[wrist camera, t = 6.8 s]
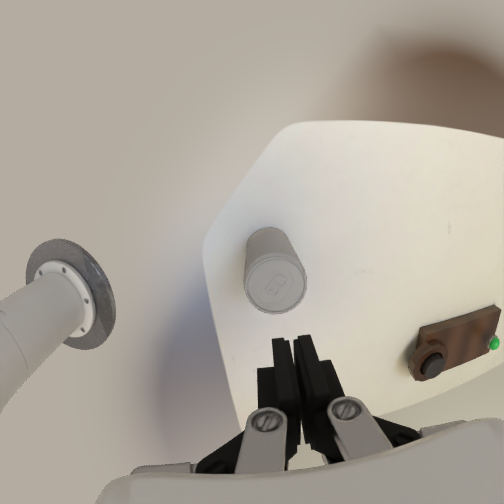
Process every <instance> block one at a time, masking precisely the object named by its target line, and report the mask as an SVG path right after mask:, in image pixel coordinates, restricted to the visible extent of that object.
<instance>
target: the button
mask: <svg viewBox="0 0 504 504" xmlns="http://www.w3.org/2000/svg"><path fill="white" fill-rule="evenodd" d="M444 367H445V360H444V359H443V358H442V357H441V356H440V355H439V354H438V353H433V354H431V355H430V356H428V357H427V358H426V359H425V360H424V362H423V363H422V365H421V371H422V372H423V373H424V375H425V376H426V377H427V378H428V379H432V378H434V377H436V376H438V375H439V374H440V373H441V372H442V370H443V369H444Z"/></svg>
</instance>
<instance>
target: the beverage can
mask: <svg viewBox="0 0 504 504" xmlns="http://www.w3.org/2000/svg"><path fill="white" fill-rule="evenodd" d="M306 288H307V277H306V273H305V270H304V268H303V266H302V264H301V262H300V260H299V258H298V256H297V254H296V253H295V251H294V249H293V247H292V245H291V243H290V241H289V240H288V238H287V236H286V235H285V234H284V233H283V232H282V231H281V230H279V229H277V228H272V227H270V228H264V229H260V230H259V231H257V232H255V233H254V234H253V235H252V236H251V237H250V239H249V241H248V245H247V253H246V262H245V271H244V289H245V292H246V295H247V298H248V299H249V301H250V302H251V304H252V305H253V306H254V307H255V308H257V309H258V310H260V311H262V312H264V313H269V314H282V313H285V312H288V311H290V310H292V309H294V308H295V307H296V306H297V305H298V304H299V303H300V302H301V301H302V299H303V297H304V295H305V292H306Z"/></svg>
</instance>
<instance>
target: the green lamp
mask: <svg viewBox="0 0 504 504" xmlns="http://www.w3.org/2000/svg"><path fill="white" fill-rule="evenodd" d="M499 343H500V342H499V339H498V337H497V336H496V335H495V334H494V335H492V336H491V337H490V338H489V340H488V341H487V345H486V346H487V348H488V349H491V350H495V349H497V348H498V346H499Z"/></svg>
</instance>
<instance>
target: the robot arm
mask: <svg viewBox="0 0 504 504" xmlns="http://www.w3.org/2000/svg"><path fill="white" fill-rule="evenodd" d="M95 316H96V309H95V302H94V298H93V295H92V293H91V290H90V288H89V286H88V284H87V283H86V281H85V280H84V278H83V277H82V276H81V274H80V273H79V272H78V271H77V270H76V269H75V268H73V267H72V266H71V265H69V264H67V263H65V262H63V261H59V260H51V261H48V262H46V263H44V264H42V265H41V266H40V267H39V268H38V270H37V272H36V274H35V277H34V281H33V282H31V283H29V284H28V285H26V286H24V287H23V288H21V289H19V290H18V291H16V292H14V293H13V294H11V295H9V296H8V297H6V298H5V299H3V300H2V301H0V413H1V411H2V410H3V408H4V407H5V405H6V404H7V402H8V401H9V400H10V398H11V397H12V396H13V395H14V394H15V392H16V391H17V390H18V389H19V388H20V387H21V386H22V384H23V383H24V382H25V381H26V380H27V379H28V378H29V377H30V376H31V375H32V374H33V372H35V370H36V369H37V368H38V367H39V366H40V365H41V364H42V363H43V362H44V361H45V360H46V359H47V358H48V357H49V356H50V355H51V354H52V353H53V352H54V351H55V350H56V349H57V348H58V347H59V346H60V345H61V343H63V342H64V341H65V340H66V339H67V338H68V337H81V336H83V335H85V334H86V333H87V332H88V331H89V330H90V329H91V328H92V326H93V324H94V321H95ZM293 343H294V362H293V357H292V353H291V348H290V343H289V340H286V341H284V338H275V339H272V348H273V360H274V367H266V368H257V384H258V409H257V410H256V411H254V412H252V413H251V414H250V415H249V417H248V419H247V423H246V427H245V430H244V431H243V432H241V433H240V434H239V435H237V436H236V437H235V438H233V439H232V440H230V441H229V442H227V443H226V444H225V445H223V446H222V447H220V448H219V449H217V450H216V451H214V452H213V453H211V454H210V455H208V456H207V457H205V458H204V459H202V460H201V461H200V462H199V463H197V464H190V462H186V463H177V464H165V465H151V466H150V465H149V466H141V467H138V468H136V469H134V470H133V471H132V472H131V474H130V475H127V476H123V477H120V478H117V479H115V480H113V481H111V482H110V483H109V484H107V485H106V487H105V488H104V489H103V490H102V492H101V494H100V495H99V497H98V499H97V501H96V503H95V504H504V421H503V420H501V419H498V418H482V419H475V420H471V421H464V420H460V421H455V422H450V423H445V424H441V425H436V426H431V427H424V428H421V429H420V431H415V430H414V429H411V428H409V427H405V426H402V425H399V424H396V423H392V422H390V421H386V420H384V419H381V418H378V417H375V416H372V415H371V413H370V412H369V410H368V409H367V408H366V406H365V405H364V403H363V402H362V401H361V400H359V399H357V398H355V397H349V396H345V395H344V392H343V389H342V387H341V384H340V382H339V379H338V377H337V374H336V371H335V369H334V366H333V364H332V362H331V360H323V361H319V359H318V356H317V353H316V350H315V347H314V344H313V341H312V338H311V336H310V334H309V335H302V336H298V339H295V340H294V341H293ZM301 423H302V428H303V434H304V439H305V443H306V444H308V443H310V445H311V450H315V451H318V452H320V453H322V458H323V461H324V463H325V465H324V466H319V467H313V468H306V469H298V470H290V471H288V467H289V460H290V459H291V458H292V457H293V456H294V455H295V454H296V453H297V445H300V439H301V437H300V435H301Z"/></svg>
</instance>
